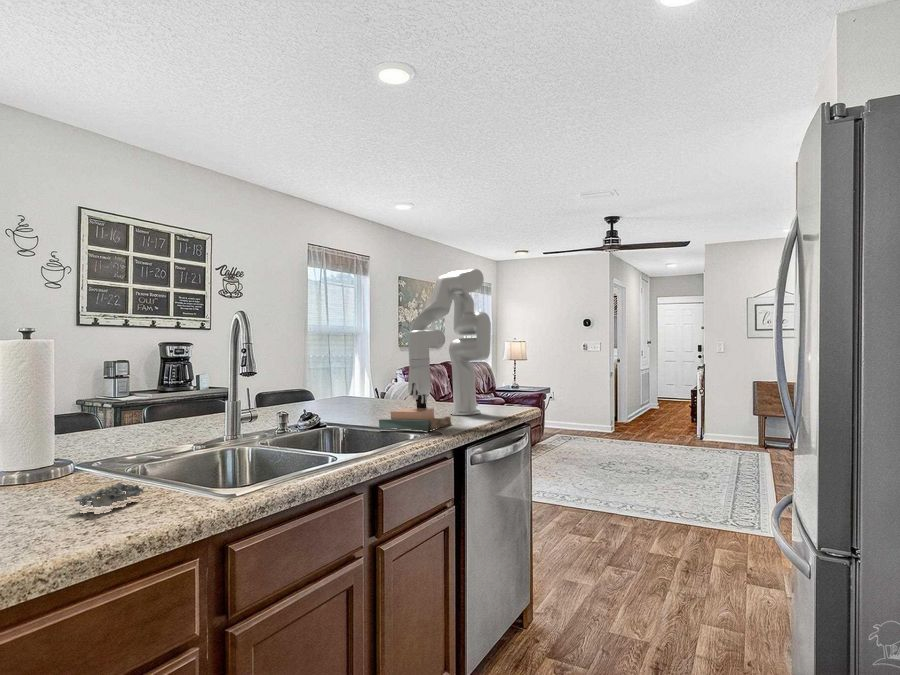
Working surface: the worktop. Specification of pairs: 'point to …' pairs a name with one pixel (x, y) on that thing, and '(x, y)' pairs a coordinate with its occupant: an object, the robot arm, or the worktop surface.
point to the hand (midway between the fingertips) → (421, 413)
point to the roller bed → (415, 423)
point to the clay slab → (413, 413)
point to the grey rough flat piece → (109, 495)
